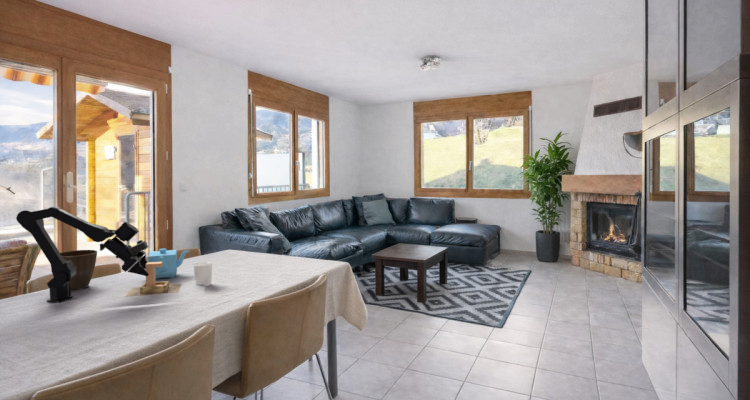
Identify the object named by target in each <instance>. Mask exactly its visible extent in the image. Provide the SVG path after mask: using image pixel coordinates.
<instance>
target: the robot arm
mask: <svg viewBox="0 0 750 400" xmlns="http://www.w3.org/2000/svg"><path fill="white" fill-rule="evenodd" d="M15 218H16V222H17V223H18V224H19V225H20V226H21V227H22V228H23V229H25V230H26V231H27V232H28V233H30V234H31V235H32V237H33V239H34V240H35V242H36V243H37V245H38V246H39V247H38V248H39V249H41V251H42V253H43V254H44V257H45V258H46V259H47V261H48V262H49V263H50V269H51V274H52V276H53V277H52V278H51V279H50V280H49V281H48V282H47V283H46V285H47V287H48V288H49V299H46V302H50V303H62V302H65V301H68V300H72V299H74V297H75V296H73V295H72V292H71V291H72V290H71V287H70V283H69V282H70V281H71V279H72V278H73V277H74V276H75V275H76V268H77V267H75V266H74V264H73V262H72V260H69V261H66V260H65V259H64V258H63V257H62V255H61V254H60V253H61V252H60V251H59V249H58V247H57V246H56V244H55V243H54V241H53V240H52V238H51V236H50V235H49V233H48V231H47V230H46V229H45V224H44V223H45V222H44V219H47V218H53V219H55V220H57V221H59V222H62V223H64V224H65V225H68V226H70V227H73V228H74V229H76V230H78V231H80V232H81V233H83V234H84V235H85V236H86V237H88V238H89V239H90V240H92V241H93V242H95V243H100V244H99V251H100V252H101V251H104V250H105V249H107V250H108V251H109V252H110V253H112V254H113V255H115V258H116V259H120V260H121V261H122V262H123V264H122V265H121V270H123V271H124V272H125V273H131V274H137V275H140V276H144V277H146V276H148V275H149V274H148V272H147V271H146V263H147V262H148V259H147V254H146V252H145V251H144V250H147V249H148V248H149V245H148V242H146V240H144V241H143V240H142V239H140V240H138V241H137V242H136V244H135V245H133V246H132V245H130V244H129V245H127V244H126V243H125V242H130V241H131V240H132V239H133V238H134V237H135V236H136V235H137V234H138V233H139V232H140V231H139V228H137V227H136V226H134V225H132V224H130V223H128V222H127V221H124V222H123V223H122V224H121V225H120V226H119V227H118V228H117V229H109V228H108V227H106V226H103V225H99V224H96V223H91V222H89V221H87V220H85V219H83V218H80V217H79V216H76V215H75V214H72V213H70V212H68V211H66V210H65V209H62V208H61V207H60V206H51V207H48V208H44V209H40V210H39V209H34V208H30V209H25V210H22V211H19V212H18V213H17V215H16V217H15ZM112 237H113V238H112ZM105 240H106V241H105ZM103 241H105V242H103ZM102 242H103V243H102Z"/></svg>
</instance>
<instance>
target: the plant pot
mask: <svg viewBox="0 0 750 400" xmlns="http://www.w3.org/2000/svg"><path fill="white" fill-rule="evenodd" d="M60 254H61V255H62V257H63V258H64V259H65V260H66V261H69V260H72V262H73V264H74V266H75V267H77V268H76V275H75V276H74V277H73V278H72V279H71V281H70V282H69V283H70V287H71V291H72V290H73V291H74V290H76V291H77V289H78V290H83V289H86V288H88V287H89V285H90V282H91V281H92V277H93V275H94V271H95V267H96V263H97V257H98V251H97V250H96V249H95V250H94V249H79V250H77V249H76V250H70V251H63V252H60Z"/></svg>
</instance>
